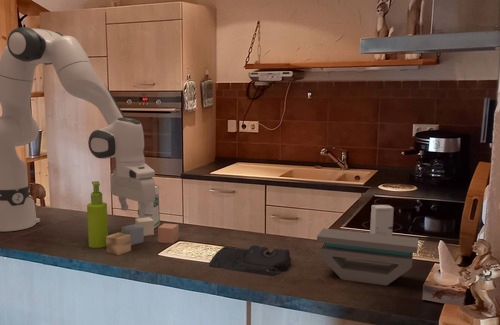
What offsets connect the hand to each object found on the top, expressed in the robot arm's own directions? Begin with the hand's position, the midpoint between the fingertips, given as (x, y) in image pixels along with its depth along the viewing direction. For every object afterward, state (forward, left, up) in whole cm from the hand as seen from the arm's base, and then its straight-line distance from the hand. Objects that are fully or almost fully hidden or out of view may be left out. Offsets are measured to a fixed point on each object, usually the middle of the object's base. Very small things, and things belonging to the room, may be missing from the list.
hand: (133, 212), depth 158 cm
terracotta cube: (+7, +9, -10) cm, 15 cm away
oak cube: (+5, -8, -10) cm, 14 cm away
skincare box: (+57, +56, -10) cm, 80 cm away
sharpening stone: (+69, +27, -10) cm, 74 cm away
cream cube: (-5, +8, -10) cm, 14 cm away
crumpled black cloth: (+40, +13, -10) cm, 43 cm away
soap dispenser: (-6, -9, -10) cm, 15 cm away
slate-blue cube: (0, 0, -10) cm, 10 cm away
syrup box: (-11, +14, -10) cm, 20 cm away
